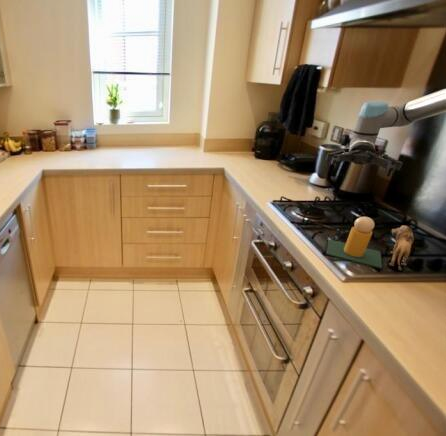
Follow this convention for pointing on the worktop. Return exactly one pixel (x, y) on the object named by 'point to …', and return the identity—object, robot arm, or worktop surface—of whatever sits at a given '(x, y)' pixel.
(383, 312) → the worktop surface
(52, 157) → the worktop surface
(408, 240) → the lion figurine
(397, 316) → the worktop surface
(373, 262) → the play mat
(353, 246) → the peg doll
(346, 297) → the worktop surface
